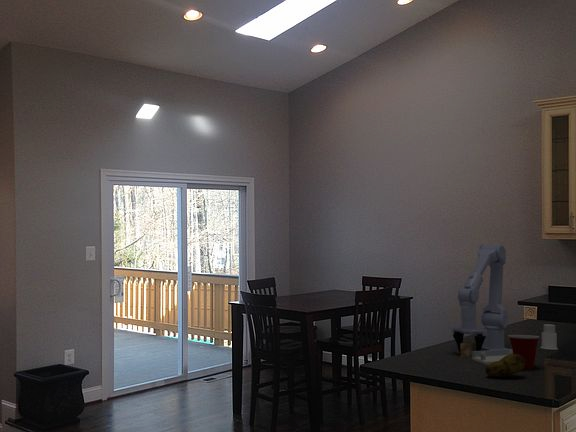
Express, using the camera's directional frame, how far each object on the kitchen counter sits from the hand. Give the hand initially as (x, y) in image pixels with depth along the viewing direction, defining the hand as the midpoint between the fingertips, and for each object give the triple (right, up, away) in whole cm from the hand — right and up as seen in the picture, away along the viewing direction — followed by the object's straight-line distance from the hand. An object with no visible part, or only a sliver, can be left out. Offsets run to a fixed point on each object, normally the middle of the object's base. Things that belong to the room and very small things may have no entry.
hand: (469, 352), depth 255 cm
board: (+9, -1, -9) cm, 13 cm away
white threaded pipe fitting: (+37, -1, +13) cm, 39 cm away
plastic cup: (+13, -1, -24) cm, 27 cm away
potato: (+2, -1, -37) cm, 38 cm away
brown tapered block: (0, -2, 0) cm, 2 cm away
